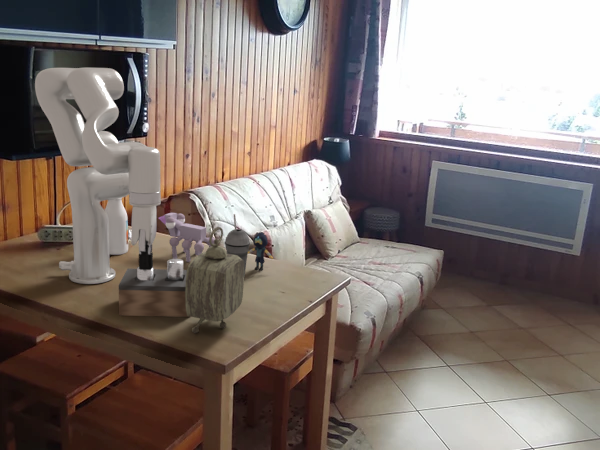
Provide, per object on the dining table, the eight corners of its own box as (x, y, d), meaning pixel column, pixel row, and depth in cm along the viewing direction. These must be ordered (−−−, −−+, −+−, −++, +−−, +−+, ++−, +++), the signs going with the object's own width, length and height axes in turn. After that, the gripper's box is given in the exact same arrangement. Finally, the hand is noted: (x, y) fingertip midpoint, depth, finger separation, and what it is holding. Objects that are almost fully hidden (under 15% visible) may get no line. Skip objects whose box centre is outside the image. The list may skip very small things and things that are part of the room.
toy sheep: (147, 254, 195) (148, 213, 192) (167, 247, 205) (168, 208, 202) (199, 266, 187) (201, 223, 184) (217, 259, 197) (220, 218, 194)
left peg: (136, 299, 154) (135, 270, 152) (138, 293, 158) (138, 265, 156) (152, 299, 154) (152, 271, 152) (154, 293, 158) (154, 265, 156)
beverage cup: (244, 286, 174) (247, 219, 169) (220, 283, 175) (222, 216, 170) (251, 277, 181) (254, 213, 176) (228, 274, 182) (230, 210, 177)
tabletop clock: (211, 312, 156) (213, 218, 149) (243, 318, 153) (247, 223, 147) (184, 335, 142) (185, 233, 136) (220, 342, 140) (223, 239, 133)
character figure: (242, 268, 188) (244, 231, 185) (249, 264, 192) (250, 228, 189) (269, 274, 185) (271, 236, 182) (275, 270, 189) (277, 233, 185)
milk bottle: (124, 256, 193) (123, 194, 187) (100, 254, 193) (98, 193, 187) (131, 248, 200) (130, 189, 195) (107, 247, 200) (106, 187, 195)
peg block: (119, 315, 150) (118, 285, 148) (128, 296, 162) (127, 268, 160) (190, 316, 152) (191, 287, 150) (194, 298, 164) (194, 270, 162)
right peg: (166, 292, 154) (166, 263, 152) (168, 286, 158) (168, 258, 156) (182, 292, 155) (182, 264, 152) (183, 286, 158) (184, 258, 156)
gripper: (134, 190, 156) (135, 258, 161) (123, 204, 141) (125, 278, 146) (164, 191, 156) (164, 259, 161) (156, 205, 142) (157, 279, 147)
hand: (146, 268), depth 154 cm, fingers closed
